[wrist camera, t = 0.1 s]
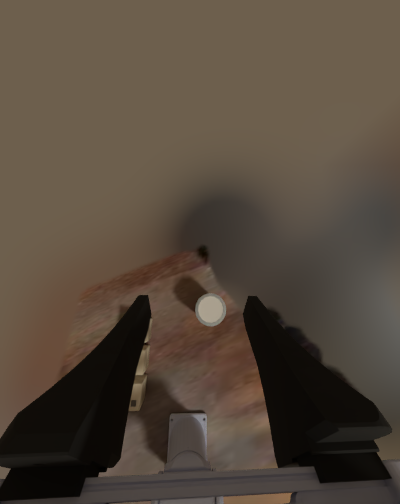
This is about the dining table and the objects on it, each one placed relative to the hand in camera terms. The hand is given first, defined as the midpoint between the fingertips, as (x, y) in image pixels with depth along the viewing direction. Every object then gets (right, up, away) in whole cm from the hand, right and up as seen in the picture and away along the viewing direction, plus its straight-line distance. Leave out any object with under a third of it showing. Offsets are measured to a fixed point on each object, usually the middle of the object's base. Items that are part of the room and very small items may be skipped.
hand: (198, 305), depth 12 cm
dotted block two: (-14, -26, +25) cm, 39 cm away
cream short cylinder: (+2, -11, +31) cm, 32 cm away
